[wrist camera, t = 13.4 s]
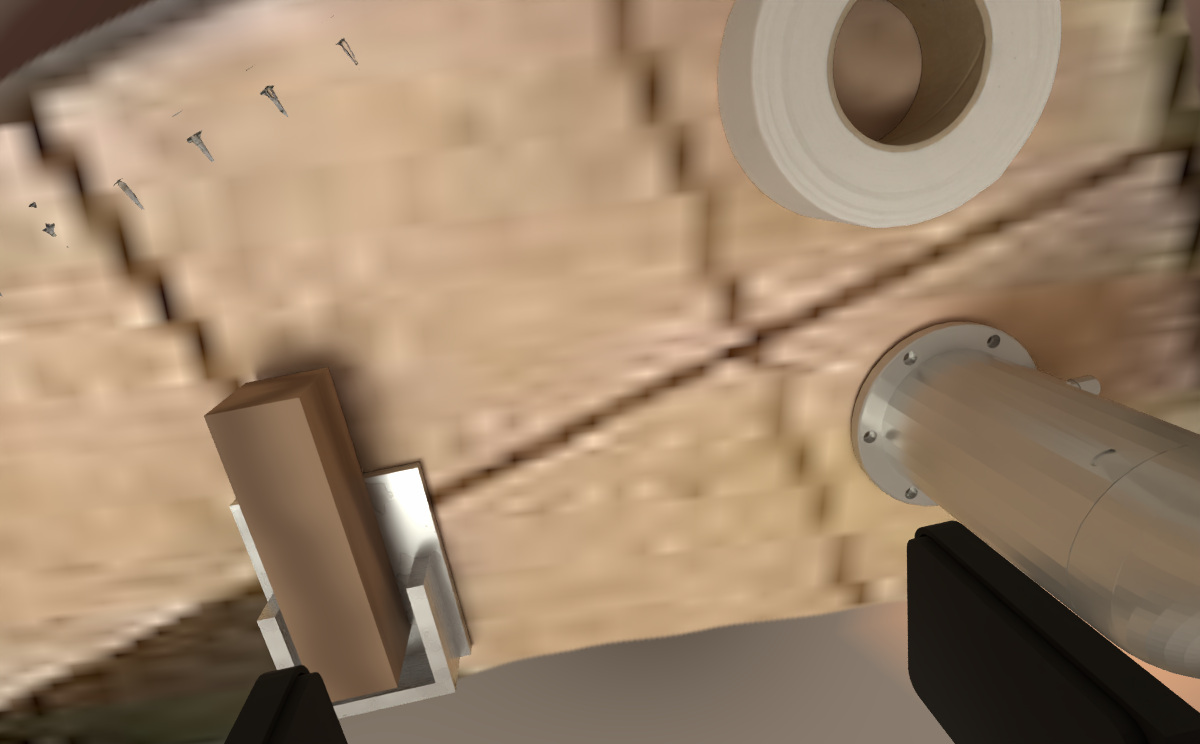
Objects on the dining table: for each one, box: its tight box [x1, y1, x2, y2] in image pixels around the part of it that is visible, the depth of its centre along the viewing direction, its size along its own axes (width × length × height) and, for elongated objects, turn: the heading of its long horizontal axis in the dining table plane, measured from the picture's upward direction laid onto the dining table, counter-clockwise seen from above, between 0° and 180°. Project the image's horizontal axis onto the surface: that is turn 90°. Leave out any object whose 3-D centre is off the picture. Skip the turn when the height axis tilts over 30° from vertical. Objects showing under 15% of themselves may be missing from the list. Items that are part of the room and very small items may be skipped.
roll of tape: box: [717, 0, 1061, 228], centre depth 33 cm, size 16×16×6 cm
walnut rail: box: [204, 367, 411, 702], centre depth 36 cm, size 4×18×5 cm, turn 10°
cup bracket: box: [230, 462, 472, 719], centre depth 39 cm, size 11×14×4 cm
